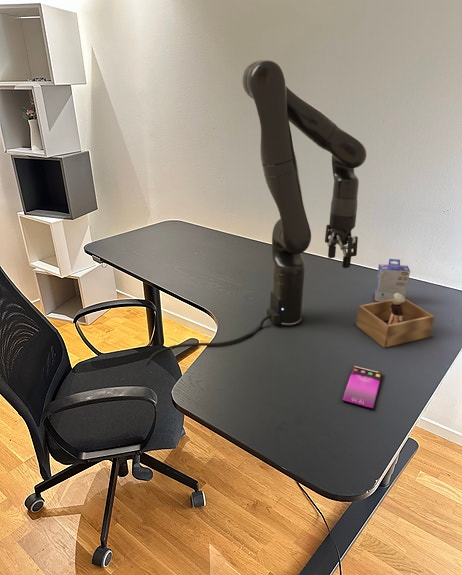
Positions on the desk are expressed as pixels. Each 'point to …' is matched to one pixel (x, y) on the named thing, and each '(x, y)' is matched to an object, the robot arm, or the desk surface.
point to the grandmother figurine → (396, 309)
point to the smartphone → (362, 387)
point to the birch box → (398, 333)
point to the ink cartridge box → (391, 280)
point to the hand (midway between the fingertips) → (338, 262)
